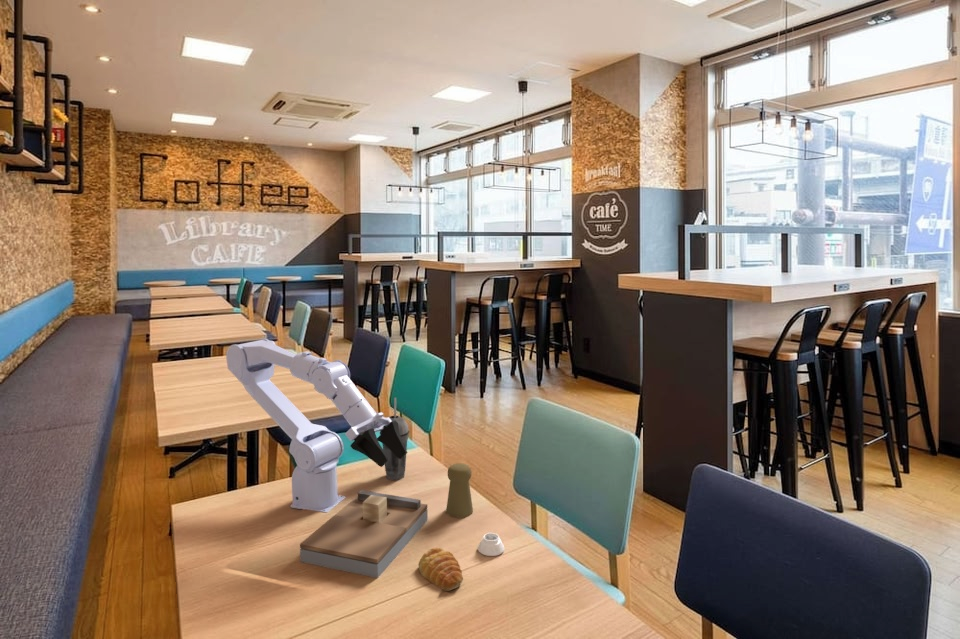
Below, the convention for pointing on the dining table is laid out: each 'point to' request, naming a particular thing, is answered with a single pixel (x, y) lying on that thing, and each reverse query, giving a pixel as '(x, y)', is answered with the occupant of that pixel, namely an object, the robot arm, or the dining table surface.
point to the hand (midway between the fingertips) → (394, 459)
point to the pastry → (441, 569)
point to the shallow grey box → (360, 565)
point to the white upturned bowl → (491, 545)
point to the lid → (365, 529)
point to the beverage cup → (394, 464)
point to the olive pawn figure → (459, 491)
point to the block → (375, 508)
